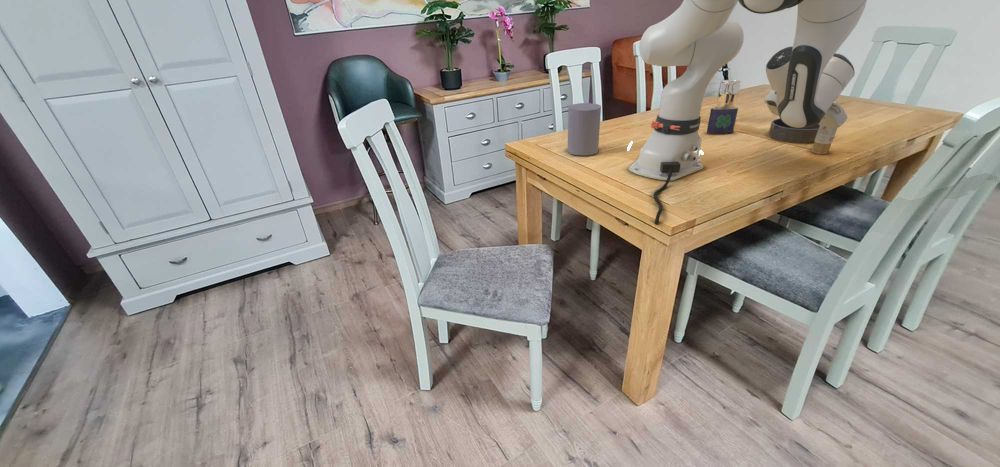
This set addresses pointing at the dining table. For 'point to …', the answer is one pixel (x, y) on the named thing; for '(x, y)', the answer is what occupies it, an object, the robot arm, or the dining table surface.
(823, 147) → the sprinkles bottle
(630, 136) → the dining table surface
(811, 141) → the pan
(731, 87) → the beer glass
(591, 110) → the container
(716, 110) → the blue clover tile
